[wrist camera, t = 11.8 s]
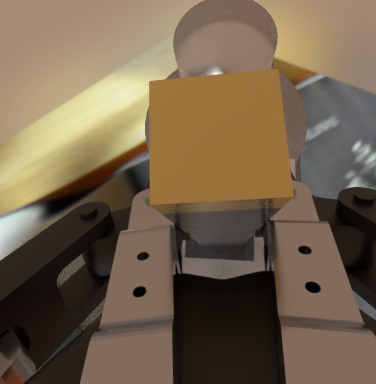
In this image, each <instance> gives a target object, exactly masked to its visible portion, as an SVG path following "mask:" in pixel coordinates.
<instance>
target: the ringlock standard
mask: <svg viewBox="0 0 376 384" xmlns="http://www.w3.org/2000/svg"><path fill="white" fill-rule="evenodd" d="M276 45H277V29H276V25H275V23H274V21H273V19H272V17H271V15H270V14H269V13H268V12H267V11H266V10H265V9H264V8H263V7H262V6H261V5H259V4H258V3H256V2H254V1H252V0H205V1H203V2H201V3H199V4H197V5H195V6H194V7H193V8H191V9H190V10H189V11H188V12H187V13H186V14H185V15H184V16H183V17H182V19H181V20H180V22H179V23H178V26H177V28H176V31H175V34H174V40H173V47H174V53H175V57H176V61H177V66H178V69H177V70H176V71H174V72H173V73H172V74H171V75H170V76H169V77H168V78H167V79H177V78H186V77H196V76H206V75H216V74H226V73H236V72H246V71H256V70H266V69H276V68H275V67H274V66H273V65H272V62H273V58H274V54H275V50H276ZM279 77H280V86H281V94H282V102H283V111H284V119H285V127H286V136H287V144H288V153H289V161H290V169H291V172H292V174H293V176H294V178H295V180H296V181H298V182H300V154H301V152H302V149H303V146H304V143H305V138H306V130H307V121H306V112H305V109H304V105H303V102H302V100H301V97H300V95H299V93H298V91H297V90H296V88H295V86H294V85H293V84H292V83H291V81H290V80H289V79H288V78H287V77H286V76H285V75H284V74H283V73H282V72H281V71H280V70H279ZM167 79H165V80H167ZM145 135H146V143H147V146H148V150H149V153H150V116H149V108H148V112H147V116H146V122H145ZM149 180H150V174H149ZM181 250H182V260H183V273H188V274H194V275H199V276H205V277H211V278H216V279H229V278H233V277H237V276H241V275H245V274H249V273H254V272H258V271H264V239H263V237H255V234H254V235H253V236H252V237H251V238H250V239H249V240H248V241H247V242H245V243H244V244H243V245H241V246H216V247H203V246H202V245H200V244H199V243H198V242H196V241H195V240H194V239H193V238H191V237H190V240H183V243H182V248H181Z"/></svg>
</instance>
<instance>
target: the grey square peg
mask: <svg viewBox="0 0 376 384" xmlns="http://www.w3.org/2000/svg"><path fill="white" fill-rule="evenodd" d="M149 116H150V205H151V206H152V207H153V208H154V209H156V210H157V211H158V212H160V213H161V214H162V215H163V216H165V217H166V218H167V219H168V220H170V221H171V222H172V223H174V224H175V225H176V226H177V227H179V228H180V229H181V230H182V231H184V232H185V233H186V234H188V235H190V237H191V238H193V239H194V240H195V241H196V242H198V243H199V244H200V245H202V246H203V247H216V246H241V245H243V244H244V243H245V242H247V241H248V240H249V239H250V238H251V237H252V236H253V235H254V234H255V233H254V232H255V231H258V230H259V229H260V228H261V227H262V226H263V225H264V224H266V223H267V221H268V220H270V219H271V218H272V217H273V216H274V215H275V214H276V213H277V212H278V211H279V210H280V209H281V208H282V207H284V206H285V205H286V204H287V203H288V202H289V201H290V200H291V199H292V198H293V197H294V194H293V186H292V178H291V169H290V161H289V153H288V144H287V136H286V127H285V119H284V111H283V102H282V94H281V86H280V77H279V69H278V68H276V69H266V70H256V71H246V72H236V73H226V74H216V75H206V76H196V77H186V78H177V79H167V80H157V81H149Z"/></svg>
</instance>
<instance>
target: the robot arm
mask: <svg viewBox="0 0 376 384" xmlns="http://www.w3.org/2000/svg"><path fill="white" fill-rule="evenodd" d="M291 178H292V186H293V194H294V197H293V198H292V199H291V200H290V201H289V202H288V203H287V204H286V205H285V206H284V207H282V208H281V209H280V210H279V211H278V212H277V213H276V214H275V215H274V216H273V217H272V218H271V219H270V220H268V221H267V223H266V224H264V225H263V226H262V227H261V228H260V229H259V230H258V231H255V232H254V233H255V237H263V239H264V271H258V272H254V273H249V274H245V275H241V276H237V277H233V278H229V279H216V278H211V277H205V276H199V275H194V274H188V273H183V260H182V250H181V248H182V243H183V240H190V235H188V234H186V233H185V232H184V231H182V230H181V229H180V228H179V227H177V226H176V225H175V224H174V223H172V222H171V221H170V220H168V219H167V218H166V217H165V216H163V215H162V214H161V213H160V212H158V211H157V210H156V209H154V208H153V207H152V206H151V205H150V180H149V183H148V186H147V189H146V190H144V191H141V192H140V193H138V194H137V195H136V196H135V197H134V199H133V203H132V206H131V207H129V208H126V209H122V210H118V211H114V212H111V210H110V207H109V205H108V204H106V203H104V202H90V203H86V204H83V205H81V206H79V207H77V208H75V209H74V210H72V211H71V212H69V213H68V214H67V215H65V216H64V217H62V218H61V219H59V220H58V221H57V222H55V223H54V224H52V225H51V226H49V227H48V228H47V229H45V230H44V231H42V232H41V233H39V234H38V235H37V236H35V237H34V238H32V239H31V240H29V241H28V242H27V243H25V244H24V245H22V246H21V247H19V248H18V249H17V250H15V251H14V252H12V253H11V254H9V255H8V256H7V257H5V258H4V259H2V260H1V261H0V384H376V320H374V319H373V318H372V317H370V316H369V315H367V314H366V313H364V312H363V311H362V310H360V309H359V308H358V306H357V303H356V300H355V297H354V294H353V291H355V292H356V293H357V294H358V295H359V296H361V297H362V298H363V299H364V300H365V301H366V302H368V303H369V304H370V305H371V306H372V307H374V308H375V309H376V190H373V189H369V188H363V187H351V188H347V189H344V190H342V191H341V192H340V193H339V195H338V200H335V199H326V198H319V197H315V196H312V195H311V192H310V189H309V188H308V187H307V186H306V185H305V184H303V183H301V182H298V181H296V180H295V178H294V176H293V174H292V172H291ZM80 254H82V257H83V259H84V262H85V264H84V265H83V266H82V267H81V268H80V269H79V270H78V271H77V272H76V273H74V274H73V275H72V276H71V277H70V278H69V279H68V280H67V281H65V282H64V283H63V284H62V285H61V286H60V287H59V288H58V286H57V278H58V276H59V274H60V272H61V271H62V270H63V269H64V268H65V267H66V266H67V265H69V264H70V263H71V262H72V261H73V260H74V259H76V258H77V257H78V256H79V255H80ZM352 290H353V291H352ZM105 297H106V299H105V303H104V308H103V313H102V314H101V315H100V316H99V317H98V318H97V319H95V320H94V321H93V322H92V323H91V324H90V325H89V326H88V327H86V328H85V329H84V330H83V331H82V332H81V333H80V334H79V335H77V336H76V337H75V338H74V339H73V340H72V341H71V342H69V343H68V344H67V345H66V346H65V347H64V348H63V349H62V350H60V351H59V352H58V353H57V354H56V355H55V356H54V357H53V358H51V359H50V360H49V361H48V362H47V363H46V364H45V365H43V364H44V363H45V362H46V361H47V360H48V358H49V357H50V356H51V355H52V354H53V353H54V352H55V351H56V350H57V349H58V348H59V347H60V346H61V344H62V343H63V342H64V341H65V340H66V339H67V338H68V337H69V336H70V335H71V334H72V333H73V332H74V331H75V329H76V328H77V327H78V326H79V325H80V324H81V323H82V322H83V321H84V320H85V319H86V318H87V317H88V316H89V314H90V313H91V312H92V311H93V310H94V309H95V308H96V307H97V306H98V305H99V304H100V303H101V302H102V301H103V299H104V298H105ZM42 365H43V366H42ZM41 366H42V367H41ZM40 367H41V368H40ZM39 368H40V369H39ZM38 369H39V370H38ZM37 370H38V371H37ZM36 371H37V372H36ZM35 372H36V373H35Z"/></svg>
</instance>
